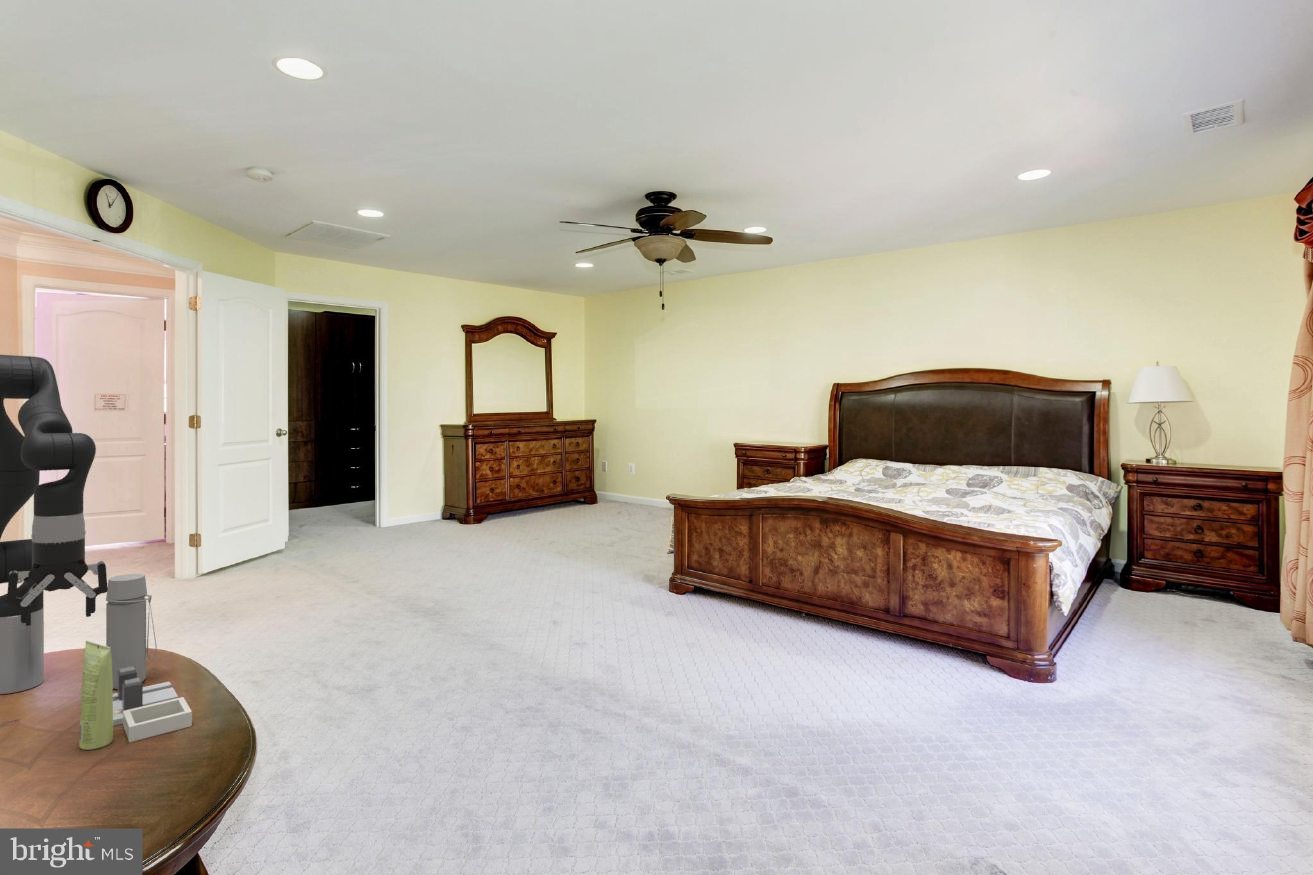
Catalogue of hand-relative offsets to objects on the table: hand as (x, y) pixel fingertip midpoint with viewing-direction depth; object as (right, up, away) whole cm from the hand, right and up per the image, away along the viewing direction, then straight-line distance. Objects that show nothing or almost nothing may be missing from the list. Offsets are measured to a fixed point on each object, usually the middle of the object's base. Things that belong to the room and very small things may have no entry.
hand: (58, 620), depth 126 cm
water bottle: (-7, -22, +26) cm, 35 cm away
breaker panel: (+4, -23, +15) cm, 28 cm away
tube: (+8, -24, -1) cm, 25 cm away
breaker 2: (+5, -21, +11) cm, 25 cm away
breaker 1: (0, -21, +16) cm, 27 cm away
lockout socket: (+14, -23, +7) cm, 28 cm away
